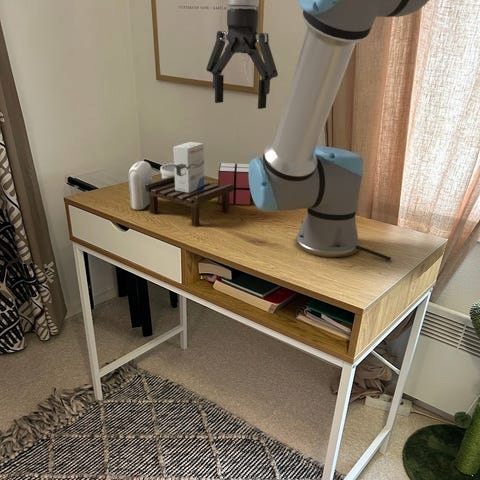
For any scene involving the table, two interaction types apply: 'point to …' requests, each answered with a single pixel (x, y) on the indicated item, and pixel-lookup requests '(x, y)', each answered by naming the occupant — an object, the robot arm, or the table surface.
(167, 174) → the ramekin
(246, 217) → the table surface
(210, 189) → the rack
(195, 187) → the ink box
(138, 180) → the photo printer
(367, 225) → the table surface
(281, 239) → the table surface
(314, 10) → the robot arm
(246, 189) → the puzzle cube
